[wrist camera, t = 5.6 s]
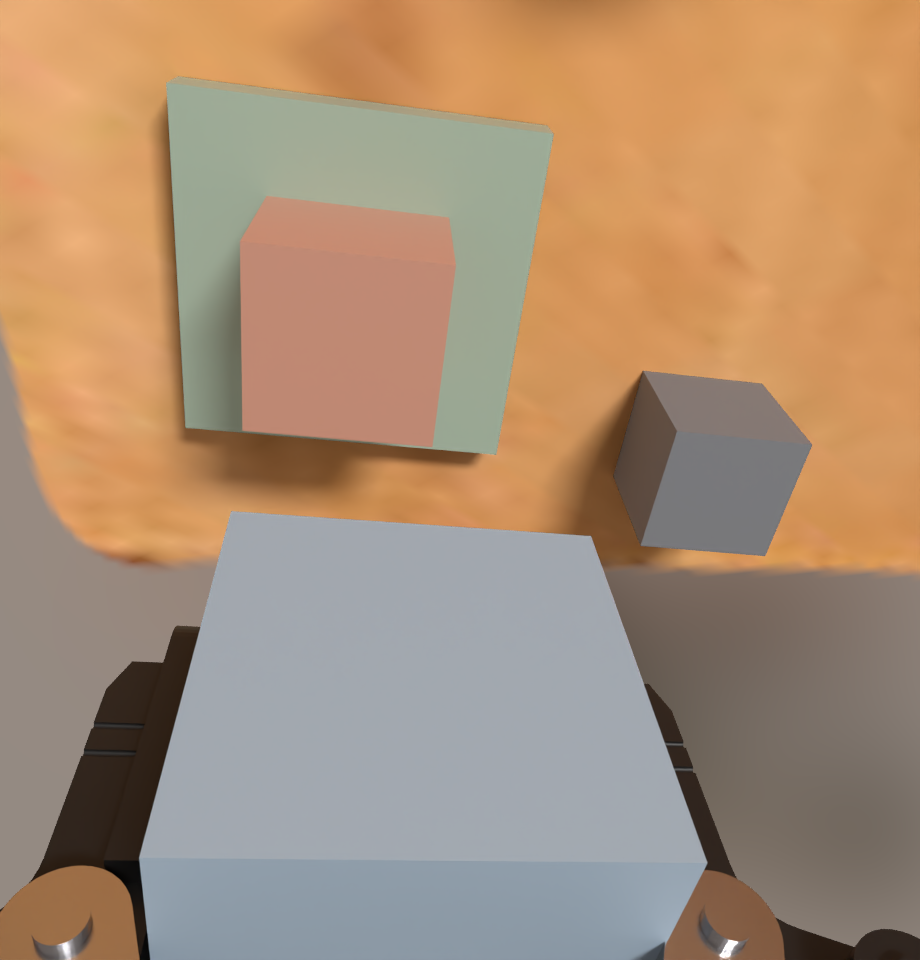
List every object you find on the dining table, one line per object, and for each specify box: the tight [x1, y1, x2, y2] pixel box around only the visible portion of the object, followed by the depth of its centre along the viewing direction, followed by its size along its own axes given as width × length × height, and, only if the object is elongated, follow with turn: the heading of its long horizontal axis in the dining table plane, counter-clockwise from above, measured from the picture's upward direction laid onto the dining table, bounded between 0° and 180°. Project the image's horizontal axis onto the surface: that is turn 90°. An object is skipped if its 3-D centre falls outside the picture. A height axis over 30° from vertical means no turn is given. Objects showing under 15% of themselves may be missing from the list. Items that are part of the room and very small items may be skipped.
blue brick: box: [139, 511, 707, 960], centre depth 11 cm, size 5×5×5 cm
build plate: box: [166, 76, 554, 455], centre depth 29 cm, size 12×12×2 cm
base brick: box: [240, 196, 456, 447], centre depth 27 cm, size 6×6×5 cm
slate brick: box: [613, 371, 812, 556], centre depth 32 cm, size 5×5×5 cm
